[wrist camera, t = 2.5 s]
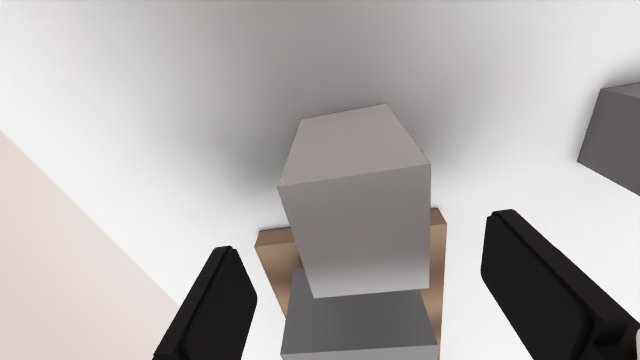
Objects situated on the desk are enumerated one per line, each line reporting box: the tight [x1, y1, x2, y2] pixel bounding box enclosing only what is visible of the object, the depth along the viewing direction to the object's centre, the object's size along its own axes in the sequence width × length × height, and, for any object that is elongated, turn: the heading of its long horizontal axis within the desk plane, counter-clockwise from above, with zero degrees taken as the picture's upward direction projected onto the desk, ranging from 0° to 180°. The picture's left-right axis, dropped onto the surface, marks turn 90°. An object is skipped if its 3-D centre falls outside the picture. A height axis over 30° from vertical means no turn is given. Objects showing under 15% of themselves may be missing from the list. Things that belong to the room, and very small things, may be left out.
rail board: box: [254, 208, 447, 360], centre depth 21 cm, size 20×12×2 cm, turn 11°
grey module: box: [277, 103, 431, 298], centre depth 12 cm, size 6×5×7 cm
